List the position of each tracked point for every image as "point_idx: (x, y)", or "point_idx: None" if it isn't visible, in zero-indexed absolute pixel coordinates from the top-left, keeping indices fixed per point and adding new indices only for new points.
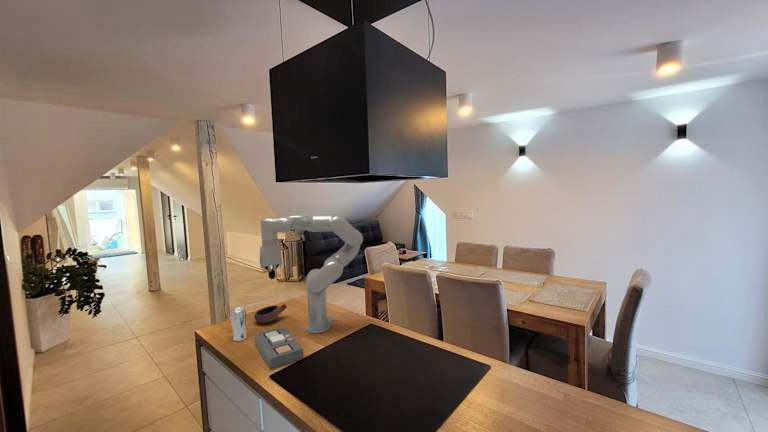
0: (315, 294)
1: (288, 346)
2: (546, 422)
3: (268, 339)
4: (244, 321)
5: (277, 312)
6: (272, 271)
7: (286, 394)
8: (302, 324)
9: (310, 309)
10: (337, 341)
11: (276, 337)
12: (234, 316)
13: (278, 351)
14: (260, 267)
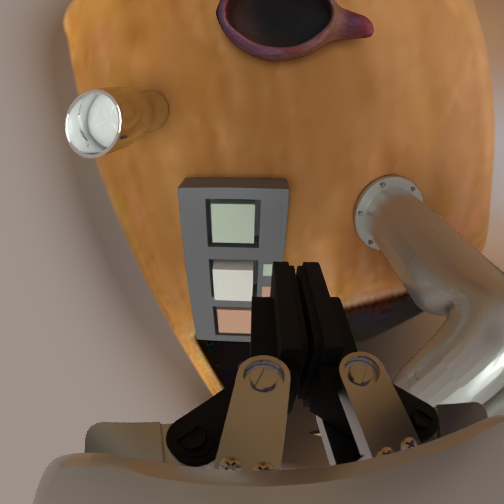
0: (433, 313)
1: (249, 319)
2: None
3: (212, 255)
4: (138, 137)
5: (317, 48)
6: (300, 393)
7: (210, 376)
8: (371, 144)
9: (393, 262)
10: (370, 304)
11: (231, 282)
12: (87, 149)
13: (221, 324)
14: (96, 446)
